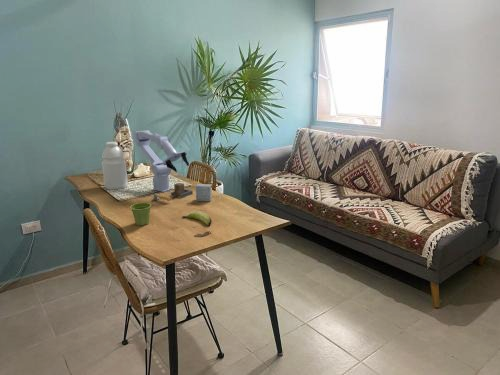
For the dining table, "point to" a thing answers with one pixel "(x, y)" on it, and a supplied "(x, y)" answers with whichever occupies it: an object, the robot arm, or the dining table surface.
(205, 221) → the green banana
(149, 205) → the plant pot
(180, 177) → the dining table surface
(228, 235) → the dining table surface
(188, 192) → the cradle
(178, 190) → the plug
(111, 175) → the bottle
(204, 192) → the medicine box
